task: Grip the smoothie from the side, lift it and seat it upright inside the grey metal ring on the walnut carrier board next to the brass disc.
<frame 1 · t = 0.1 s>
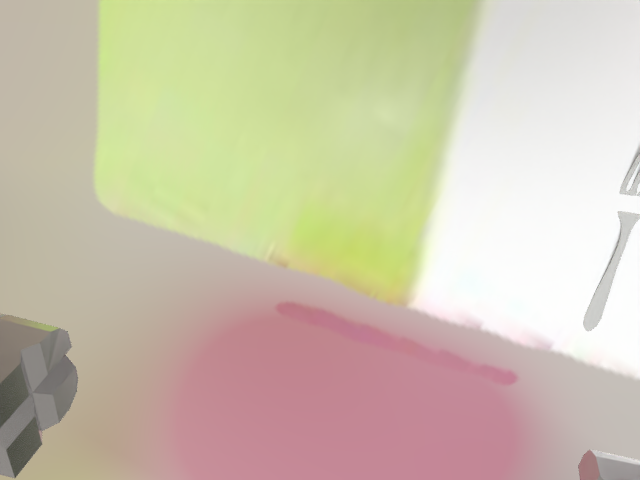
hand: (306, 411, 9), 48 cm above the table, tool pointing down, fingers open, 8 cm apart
fork: (612, 255, 59), on the table
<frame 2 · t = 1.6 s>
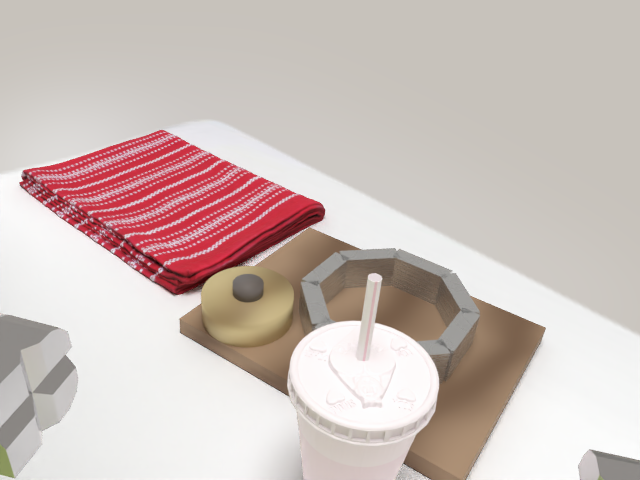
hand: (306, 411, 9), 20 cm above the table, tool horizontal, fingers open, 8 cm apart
carrier board: (365, 336, 41), on the table
socket ring: (383, 325, 40), resting on carrier board
dish towel: (173, 209, 55), on the table
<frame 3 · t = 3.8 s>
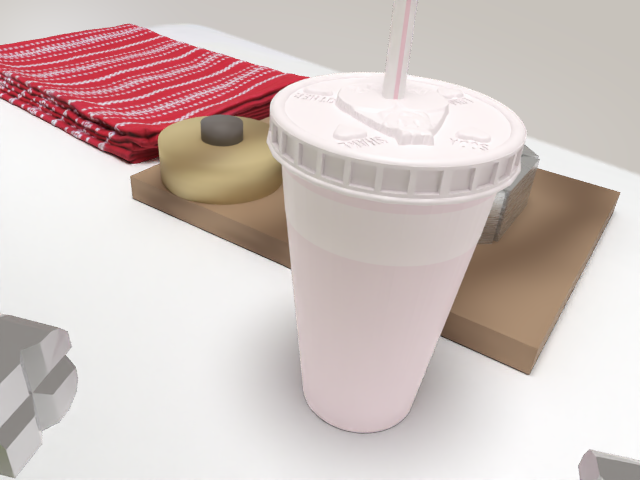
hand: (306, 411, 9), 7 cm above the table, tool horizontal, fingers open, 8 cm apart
carrier board: (381, 205, 31), on the table
socket ring: (406, 187, 30), resting on carrier board
smoothie: (357, 392, 20), on the table
dish towel: (137, 95, 45), on the table
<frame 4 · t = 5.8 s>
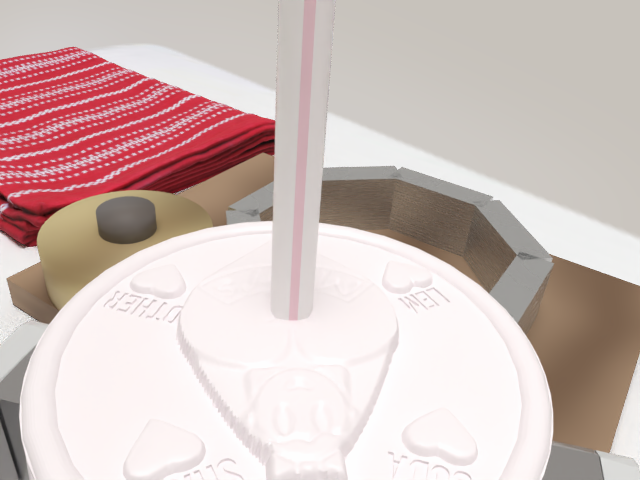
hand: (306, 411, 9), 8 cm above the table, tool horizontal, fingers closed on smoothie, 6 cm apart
carrier board: (344, 310, 23), on the table
socket ring: (376, 289, 23), resting on carrier board
dish towel: (67, 139, 37), on the table
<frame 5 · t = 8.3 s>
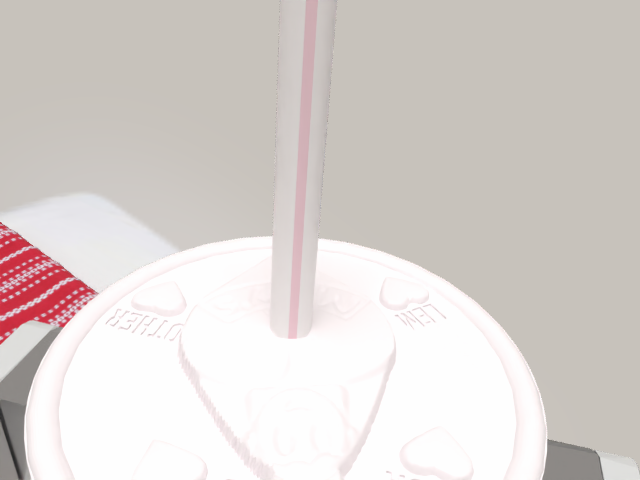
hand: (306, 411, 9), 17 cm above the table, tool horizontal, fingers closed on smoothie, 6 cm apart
when the fingers open (10 cm above the table, at t = 10.6 s): smoothie moves 2 cm, resting on carrier board.
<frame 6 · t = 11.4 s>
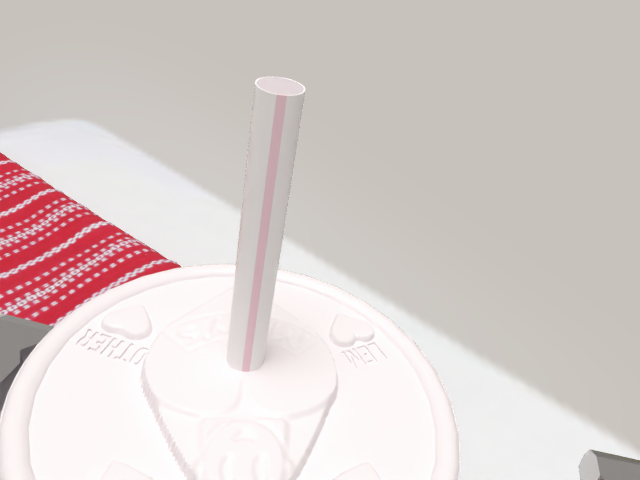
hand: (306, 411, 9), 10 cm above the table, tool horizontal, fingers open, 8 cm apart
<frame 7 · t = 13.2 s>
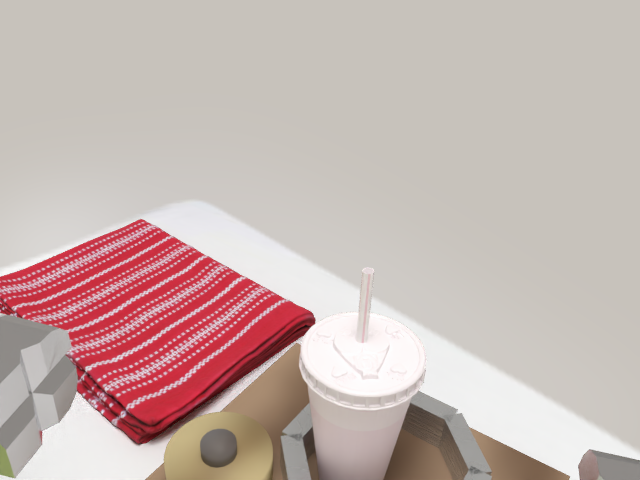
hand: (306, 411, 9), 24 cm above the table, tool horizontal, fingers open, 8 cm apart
smoothie: (350, 478, 35), point 1 cm above the table, touching carrier board
dish towel: (147, 320, 49), on the table
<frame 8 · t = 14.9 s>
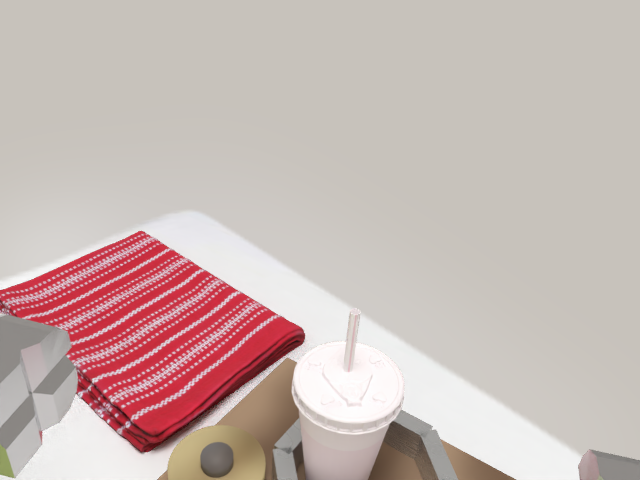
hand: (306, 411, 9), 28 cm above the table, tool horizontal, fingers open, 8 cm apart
dish towel: (147, 331, 53), on the table
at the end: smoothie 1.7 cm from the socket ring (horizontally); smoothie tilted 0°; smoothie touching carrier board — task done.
